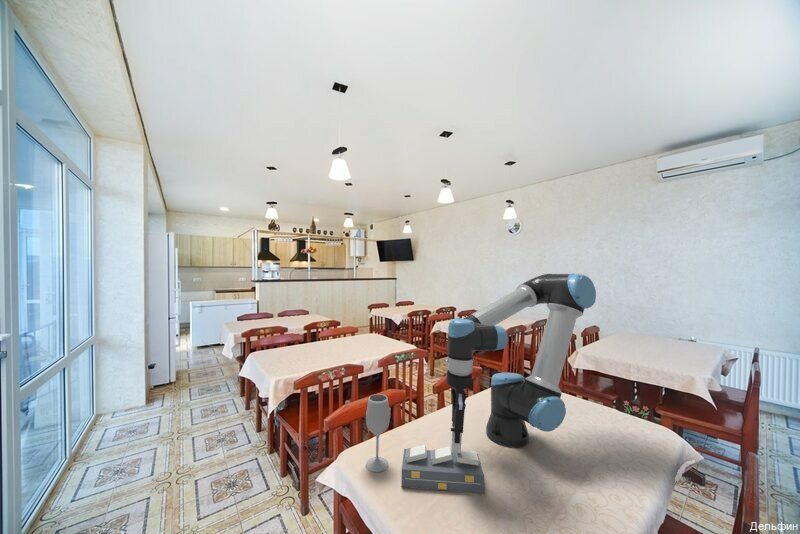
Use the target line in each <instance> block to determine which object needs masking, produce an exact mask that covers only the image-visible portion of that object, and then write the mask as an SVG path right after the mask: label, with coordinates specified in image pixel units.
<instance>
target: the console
mask: <svg viewBox="0 0 800 534" xmlns="http://www.w3.org/2000/svg"><path fill="white" fill-rule="evenodd" d="M407 449H408V448H403V454H402V455H403V457H402V465H401V483H400V484H401V488H409V489H424V490H436V491H449V492H460V493H472V494H474V493H475V494H485V474H484V470H483V466H482V463H481V460H480V456H479V453H477V456H478V460H479V464H478V465H472V464H466V463H459V462H457V457H456V453H452V460H448V461H445V462H441V463H437V464H432V461H431V450H429V449H427V458H423V459H420V460H416V461H412V462H408V463H407V461H406V451H407Z"/></svg>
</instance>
